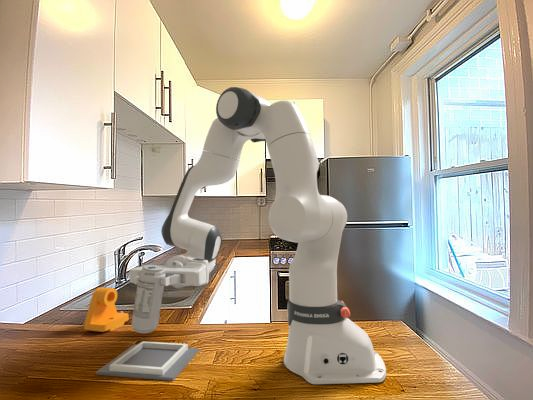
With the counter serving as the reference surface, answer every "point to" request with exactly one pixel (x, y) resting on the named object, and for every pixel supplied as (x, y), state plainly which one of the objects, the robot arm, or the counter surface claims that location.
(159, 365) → the framed grey tray
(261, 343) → the counter surface
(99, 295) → the bracket
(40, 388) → the counter surface
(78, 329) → the counter surface
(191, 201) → the robot arm
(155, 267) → the energy drink can
